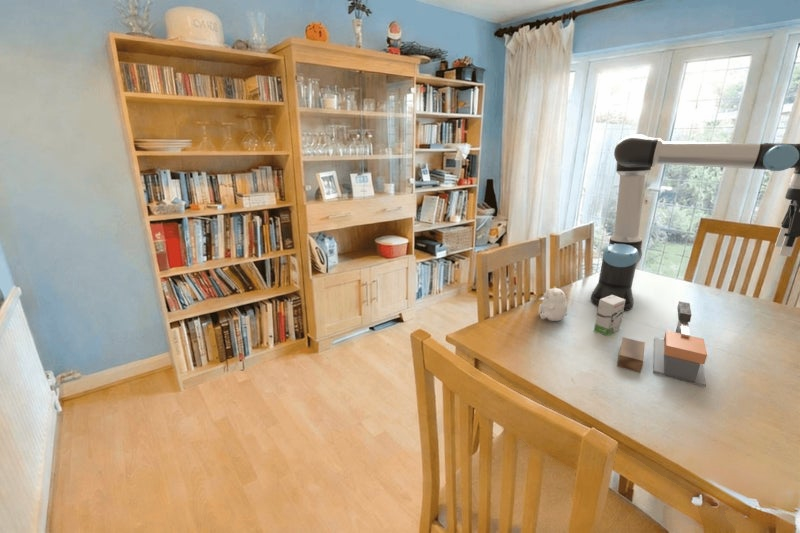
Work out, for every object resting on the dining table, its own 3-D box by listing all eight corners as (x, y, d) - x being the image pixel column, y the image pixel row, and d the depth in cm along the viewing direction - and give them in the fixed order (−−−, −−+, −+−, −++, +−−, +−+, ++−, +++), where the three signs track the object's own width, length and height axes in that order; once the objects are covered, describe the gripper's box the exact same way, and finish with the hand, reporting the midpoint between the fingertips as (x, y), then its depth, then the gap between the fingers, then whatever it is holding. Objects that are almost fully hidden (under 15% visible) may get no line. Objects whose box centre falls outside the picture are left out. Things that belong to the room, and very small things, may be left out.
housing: (653, 372, 107) (657, 354, 105) (654, 338, 126) (658, 322, 124) (705, 387, 101) (711, 368, 99) (698, 348, 119) (703, 331, 117)
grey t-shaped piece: (672, 359, 112) (681, 325, 108) (671, 331, 127) (679, 301, 124) (684, 362, 110) (693, 328, 106) (681, 333, 126) (689, 303, 122)
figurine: (562, 313, 144) (566, 284, 140) (570, 325, 135) (575, 294, 131) (535, 312, 145) (539, 283, 141) (542, 324, 136) (546, 293, 132)
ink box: (607, 336, 127) (613, 304, 123) (592, 330, 131) (598, 299, 127) (620, 329, 131) (626, 298, 127) (606, 323, 135) (612, 293, 131)
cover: (664, 354, 105) (666, 345, 104) (663, 339, 113) (666, 330, 112) (704, 364, 101) (707, 355, 100) (701, 347, 108) (703, 338, 108)
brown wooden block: (616, 366, 110) (619, 354, 109) (620, 348, 120) (622, 337, 119) (640, 372, 107) (643, 360, 106) (642, 353, 117) (644, 342, 115)
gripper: (830, 193, 109) (803, 262, 116) (814, 184, 127) (792, 244, 134) (793, 191, 113) (770, 257, 120) (784, 183, 131) (764, 241, 139)
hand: (782, 251), depth 127 cm, fingers open, 13 cm apart
